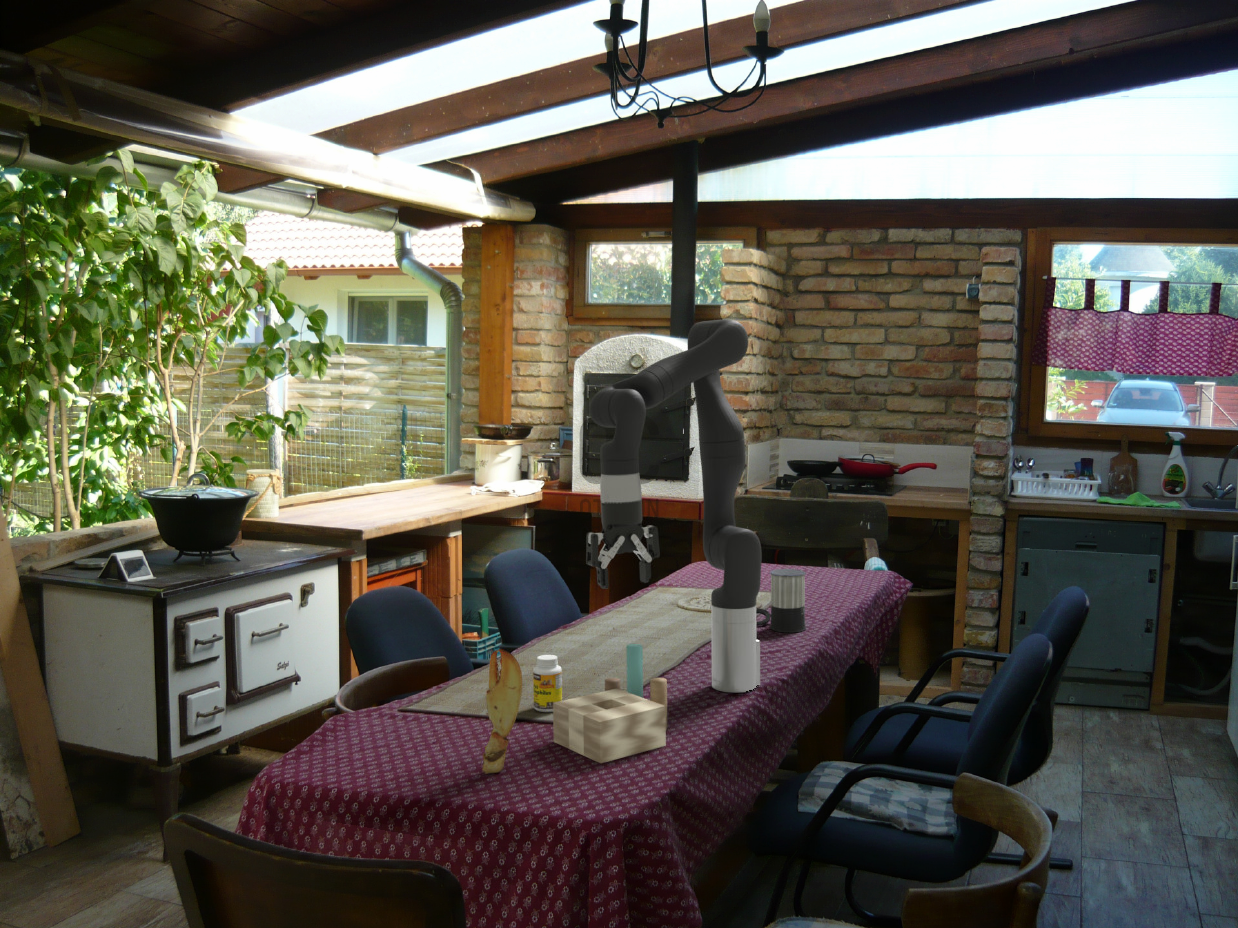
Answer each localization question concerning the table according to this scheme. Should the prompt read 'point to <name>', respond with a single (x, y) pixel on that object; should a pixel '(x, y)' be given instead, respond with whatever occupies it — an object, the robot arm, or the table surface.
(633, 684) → the long pin
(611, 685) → the short pin
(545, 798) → the table surface
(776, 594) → the milk frother
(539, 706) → the supplement bottle
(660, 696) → the medium pin
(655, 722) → the hole block
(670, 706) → the table surface
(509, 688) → the crab claw
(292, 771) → the table surface
